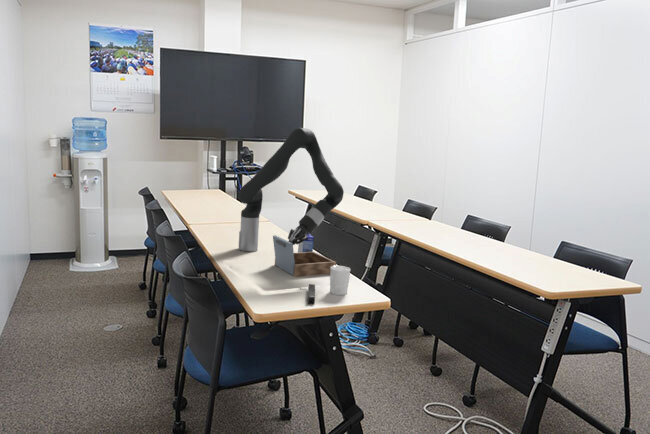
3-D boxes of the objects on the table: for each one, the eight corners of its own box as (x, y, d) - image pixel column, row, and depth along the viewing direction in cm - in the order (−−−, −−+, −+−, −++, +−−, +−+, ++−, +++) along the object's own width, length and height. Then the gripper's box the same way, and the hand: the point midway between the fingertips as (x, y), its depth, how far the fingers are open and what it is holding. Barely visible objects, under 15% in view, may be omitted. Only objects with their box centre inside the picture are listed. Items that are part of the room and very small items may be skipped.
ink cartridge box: (312, 261, 254) (314, 232, 251) (301, 261, 252) (303, 232, 250) (307, 256, 263) (309, 228, 261) (297, 256, 261) (299, 228, 259)
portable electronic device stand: (308, 290, 209) (308, 283, 208) (314, 290, 209) (315, 283, 208) (307, 304, 191) (308, 297, 190) (314, 305, 191) (315, 297, 191)
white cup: (347, 290, 211) (349, 266, 210) (349, 296, 204) (351, 271, 202) (328, 289, 211) (330, 265, 210) (328, 295, 203) (330, 270, 202)
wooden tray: (312, 265, 247) (313, 251, 246) (335, 276, 230) (336, 262, 229) (274, 268, 237) (275, 254, 236) (295, 280, 220) (295, 265, 219)
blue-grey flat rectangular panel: (278, 264, 236) (275, 235, 232) (295, 274, 222) (292, 243, 218) (274, 265, 235) (271, 236, 231) (291, 275, 221) (288, 244, 217)
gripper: (299, 212, 235) (273, 240, 230) (314, 216, 224) (287, 246, 219) (309, 223, 239) (283, 251, 234) (324, 228, 228) (297, 258, 223)
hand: (285, 248), depth 227 cm, fingers closed
